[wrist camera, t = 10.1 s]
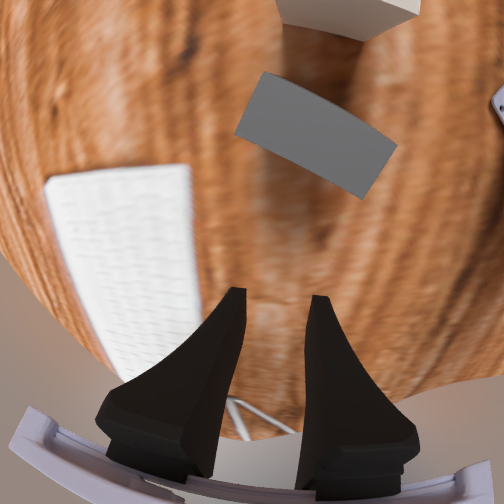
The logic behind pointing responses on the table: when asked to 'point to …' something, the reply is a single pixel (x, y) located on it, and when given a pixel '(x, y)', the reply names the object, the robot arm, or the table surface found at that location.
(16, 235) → the table surface
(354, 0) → the domino
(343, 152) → the domino
